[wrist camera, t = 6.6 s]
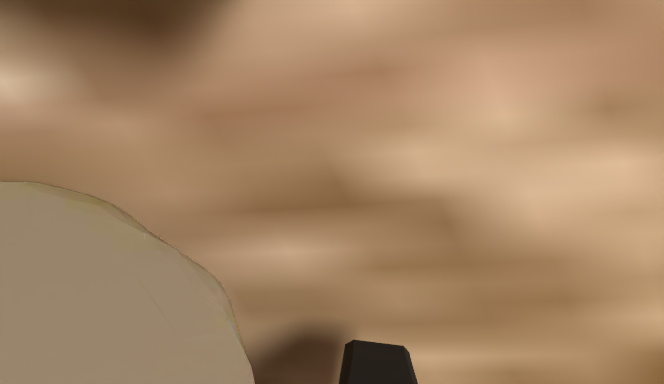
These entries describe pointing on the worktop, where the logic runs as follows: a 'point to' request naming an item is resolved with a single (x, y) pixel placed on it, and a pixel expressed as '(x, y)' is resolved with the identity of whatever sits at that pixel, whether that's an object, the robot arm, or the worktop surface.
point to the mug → (105, 299)
